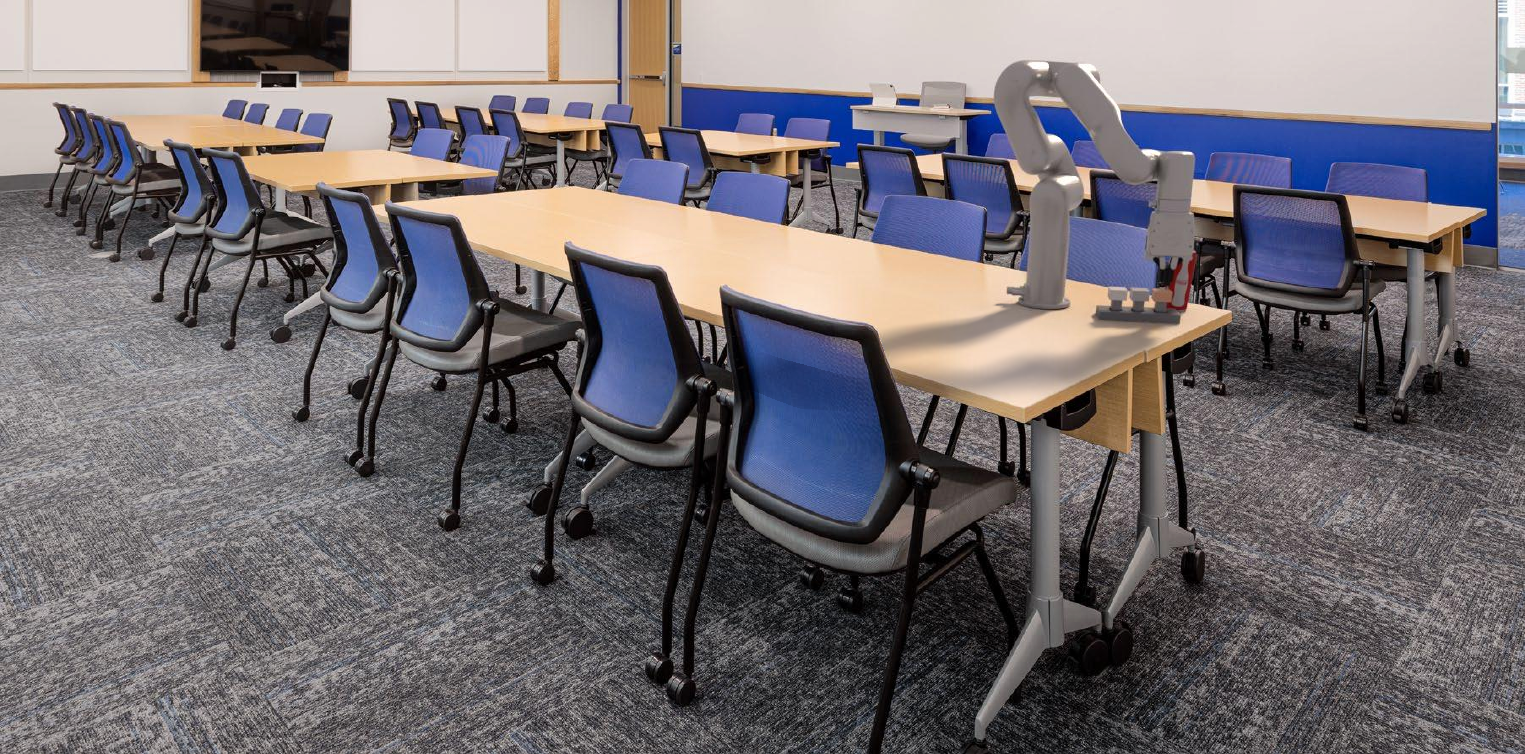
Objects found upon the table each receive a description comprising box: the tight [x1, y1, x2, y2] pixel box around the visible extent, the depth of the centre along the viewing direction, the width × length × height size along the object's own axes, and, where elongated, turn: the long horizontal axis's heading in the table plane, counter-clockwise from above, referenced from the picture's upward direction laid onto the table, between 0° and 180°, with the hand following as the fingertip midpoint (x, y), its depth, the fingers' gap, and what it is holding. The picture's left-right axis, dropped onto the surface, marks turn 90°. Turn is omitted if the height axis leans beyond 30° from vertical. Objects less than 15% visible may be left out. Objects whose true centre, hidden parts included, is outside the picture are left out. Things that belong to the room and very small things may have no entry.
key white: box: [1107, 286, 1129, 310], centre depth 246 cm, size 4×4×5 cm
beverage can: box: [1164, 249, 1197, 313], centre depth 253 cm, size 6×6×15 cm
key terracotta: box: [1150, 287, 1172, 312], centre depth 244 cm, size 4×4×5 cm
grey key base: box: [1095, 304, 1181, 324], centre depth 246 cm, size 18×7×2 cm, turn 81°
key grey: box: [1128, 287, 1151, 311], centre depth 245 cm, size 4×4×5 cm
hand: (1165, 285), depth 243 cm, fingers closed
